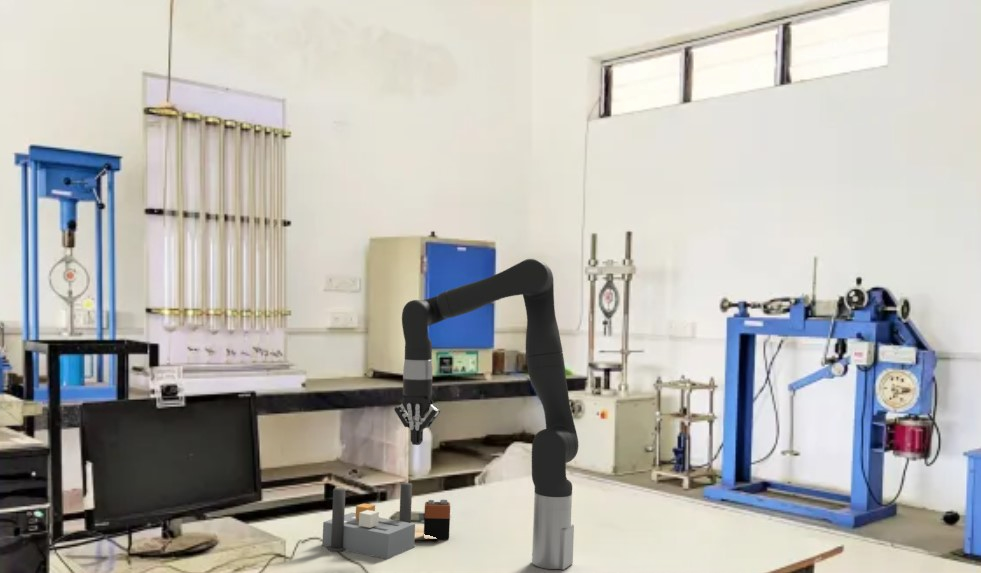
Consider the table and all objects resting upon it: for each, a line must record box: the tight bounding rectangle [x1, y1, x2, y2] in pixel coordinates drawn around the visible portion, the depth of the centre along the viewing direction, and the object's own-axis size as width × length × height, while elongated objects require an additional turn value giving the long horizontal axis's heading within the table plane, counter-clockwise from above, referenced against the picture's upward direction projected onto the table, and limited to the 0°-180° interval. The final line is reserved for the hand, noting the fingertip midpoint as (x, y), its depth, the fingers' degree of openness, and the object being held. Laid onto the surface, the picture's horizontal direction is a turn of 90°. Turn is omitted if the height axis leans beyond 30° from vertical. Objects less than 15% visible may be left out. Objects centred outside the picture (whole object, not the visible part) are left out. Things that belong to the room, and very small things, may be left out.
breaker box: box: [322, 512, 416, 560], centre depth 214 cm, size 20×12×6 cm, turn 63°
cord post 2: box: [398, 482, 413, 523], centre depth 219 cm, size 4×4×15 cm
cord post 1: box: [327, 487, 346, 553], centre depth 210 cm, size 4×4×15 cm
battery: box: [423, 499, 451, 541], centre depth 224 cm, size 4×7×10 cm, turn 93°
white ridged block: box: [359, 510, 380, 528], centre depth 210 cm, size 4×4×3 cm
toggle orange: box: [355, 503, 376, 519], centre depth 217 cm, size 4×4×3 cm
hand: (416, 444), depth 216 cm, fingers closed
